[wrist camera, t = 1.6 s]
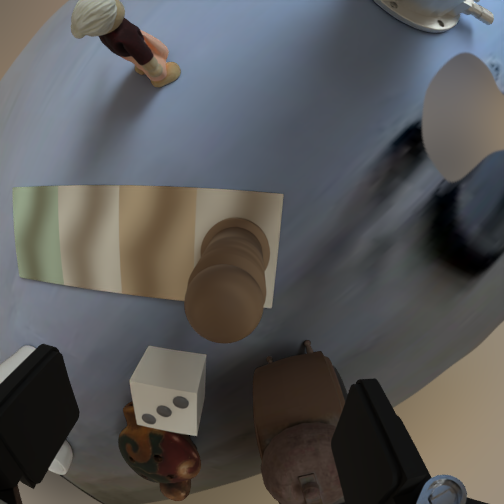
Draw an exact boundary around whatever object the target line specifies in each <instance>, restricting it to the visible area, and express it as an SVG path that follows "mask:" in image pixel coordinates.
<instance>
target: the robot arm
mask: <svg viewBox="0 0 504 504" xmlns="http://www.w3.org/2000/svg"><path fill="white" fill-rule="evenodd" d="M374 1H375V3H377V4H378V5H379V6H380V7H381V8H382V9H384V10H385V11H386V12H388V13H389V14H390V15H392V16H393V17H395V18H396V19H398V20H400V21H402V22H403V23H405V24H407V25H409V26H411V27H414V28H416V29H419V30H422V31H426V32H432V33H440V32H445V31H447V30H449V29H451V28H452V27H454V26H455V25H456V24H457V23H458V21H459V18H460V13H464V14H466V15H470V14H471V15H473V16H474V17H475V18H477V19H478V20H480V21H482V22H483V23H485V24H487V25H490V24H492V22H493V20H494V17H493V14H492V13H491V12H490V11H488V10H487V9H485V8H484V7H482V6H480V5H477V4H476V3H477V2H479V1H480V0H374ZM474 1H475V2H476V3H474ZM78 418H79V408H78V405H77V402H76V399H75V396H74V393H73V390H72V387H71V384H70V381H69V377H68V374H67V370H66V367H65V363H64V359H63V356H62V354H61V353H60V352H59V350H58V349H57V348H56V347H53V346H49V345H46V344H41V345H40V346H39V347H37V348H36V349H35V350H34V351H33V352H32V353H31V354H30V355H29V356H28V357H27V358H26V359H25V360H24V361H23V362H22V363H21V364H20V365H19V366H18V367H17V368H16V369H15V370H14V371H13V372H12V373H11V374H10V375H9V376H8V377H7V378H6V379H5V380H4V381H3V382H2V383H1V384H0V504H22V501H21V497H20V493H19V489H18V485H17V484H18V482H19V481H21V482H22V483H24V484H26V485H27V486H29V487H31V488H33V489H34V487H35V485H36V484H38V483H40V482H41V481H42V480H43V478H44V476H45V474H46V472H47V471H48V469H49V467H50V465H51V464H52V462H53V460H54V458H55V457H56V455H57V453H58V452H59V450H60V448H61V446H62V445H63V443H64V441H65V440H66V438H67V436H68V435H69V433H70V431H71V430H72V428H73V426H74V425H75V423H76V422H77V420H78ZM331 449H332V453H333V457H334V461H335V465H336V468H337V472H338V476H339V480H340V484H341V488H342V492H343V496H344V500H345V504H488V503H484V502H481V501H477V500H474V499H470V498H467V491H466V488H465V486H464V485H463V483H462V482H461V481H460V480H459V479H457V478H455V477H453V476H450V475H437V476H435V477H433V478H431V476H430V474H429V472H428V470H427V468H426V466H425V464H424V462H423V460H422V458H421V456H420V455H419V452H418V451H417V448H416V446H415V445H414V443H413V441H412V439H411V437H410V435H409V433H408V431H407V430H406V428H405V426H404V424H403V422H402V420H401V419H400V417H399V416H397V415H396V413H395V411H394V409H393V408H392V406H391V404H390V402H389V400H388V398H387V397H386V395H385V393H384V391H383V389H382V388H381V386H380V384H379V382H378V381H377V379H360V380H358V381H357V382H356V384H353V385H351V387H350V390H349V393H348V396H347V399H346V402H345V405H344V407H343V410H342V413H341V416H340V418H339V421H338V424H337V427H336V429H335V432H334V434H333V437H332V440H331Z"/></svg>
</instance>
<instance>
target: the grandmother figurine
mask: <svg viewBox="0 0 504 504" xmlns="http://www.w3.org/2000/svg"><path fill="white" fill-rule="evenodd" d="M124 15H125V10H124V6H123V4H122V3H121V2H120V1H119V0H79V1H78V3H77V4H76V6H75V8H74V11H73V14H72V17H71V22H72V25H71V32H72V34H73V35H74V37H75V38H78V39H80V38H83V37H84V36H85V35H88V36H91V37H93V36H99V38H100V40H101V41H102V43H103V44H104V45H105V46H106V47H108V48H109V49H110V50H111V51H112V52H113V53H114V54H116V55H118V56H120V57H122V58H124V59H126V60H128V61H130V62H132V63H134V64H135V71H136V72H137V73H139V74H140V75H144V74H146V75H147V77H148V78H149V79H151V83H152V85H153V86H154V87H162V86H164V85H166V84H168V83H171V82H173V81H175V80H176V79H177V78H178V77H179V76H180V73H181V69H180V67H179V66H178V64H176V63H174V62H167V63H166V59H167V57H168V53H169V51H168V48H167V47H166V46H165V45H164V44H163V43H162V42H161V41H159V40H158V39H157V38H155V37H153V36H152V35H150V34H148V33H146V32H144V31H141V30H140V29H139V28H138V27H137V26H135V25H134V24H132V23H130V22H129V21H128V20H127V19H125V18H124Z"/></svg>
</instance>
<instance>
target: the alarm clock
mask: <svg viewBox="0 0 504 504" xmlns="http://www.w3.org/2000/svg"><path fill="white" fill-rule="evenodd" d="M304 345H305V346H306V352H307V354H302V355H296V356H291V357H287V358H283V359H280V360H278V361H275V362H273V361H272V360H273V359H272V357H271V356H268V357H267V358H266V360H267V362H268V363H269V364H267V365H265V366H262V367H258V368H256V369H255V372H254V376H253V417H254V426H255V433H256V438H257V444H258V448H259V452H260V456H261V460H262V464H261V472H262V476H263V481H264V484H265V487H266V489H267V490H268V491H269V493H270V494H271V495H272V496H273V498H274V499H276V500H277V501H278V502H279V504H345V500H344V496H343V492H342V488H341V484H340V480H339V476H338V472H337V468H336V465H335V461H334V457H333V453H332V449H331V440H332V437H333V434H334V432H335V429H336V427H337V424H338V421H339V418H340V416H341V413H342V410H343V407H344V405H345V402H346V399H347V396H348V395H347V392H346V389H345V386H344V384H343V381H342V379H341V377H340V375H339V373H338V371H337V370H336V368H335V367H334V366H333V365H332V363H331V361H330V359H329V358H328V357H325V356H324V355H323V353H322V352H321V351H318V352H313V350H312V348H311V346H310V345H311V342H310V341H309V340H306V341H305V342H304Z"/></svg>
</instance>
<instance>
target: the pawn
mask: <svg viewBox="0 0 504 504" xmlns="http://www.w3.org/2000/svg"><path fill="white" fill-rule="evenodd" d="M269 259H270V247H269V243H268V240H267V237H266V235H265V233H264V232H263V231H262V229H261V228H260V227H259V226H258V225H256V224H255V223H253V222H252V221H249V220H247V219H244V218H227V219H224V220H222V221H220V222H218V223H216V224H215V225H214V226H213V227H212V228H211V229H210V230H209V231H208V232H207V234H206V235H205V237H204V239H203V241H202V245H201V258H200V259H199V261H198V263H197V264H196V266H195V268H194V269H193V271H192V273H191V275H190V277H189V280H188V285H187V291H186V294H185V300H184V308H185V313H186V317H187V319H188V321H189V323H190V325H191V326H192V328H193V329H194V330H195V331H196V332H197V333H198V334H199V335H200V336H202V337H203V338H205V339H207V340H210V341H212V342H216V343H232V342H236V341H239V340H241V339H243V338H245V337H246V336H248V335H249V334H250V333H251V332H252V331H253V330H254V329H255V328H256V327H257V325H258V323H259V321H260V319H261V317H262V314H263V306H264V303H265V300H266V281H265V270H266V268H267V266H268V263H269Z"/></svg>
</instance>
